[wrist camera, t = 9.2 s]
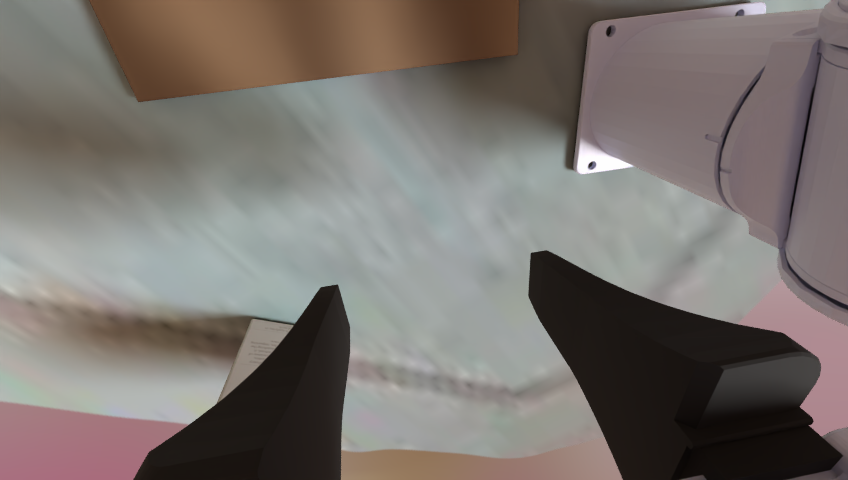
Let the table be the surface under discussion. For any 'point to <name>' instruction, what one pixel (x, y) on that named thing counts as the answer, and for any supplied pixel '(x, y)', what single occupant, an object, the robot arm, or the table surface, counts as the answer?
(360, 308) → the table surface
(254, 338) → the skincare box
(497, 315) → the table surface
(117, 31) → the pin board
